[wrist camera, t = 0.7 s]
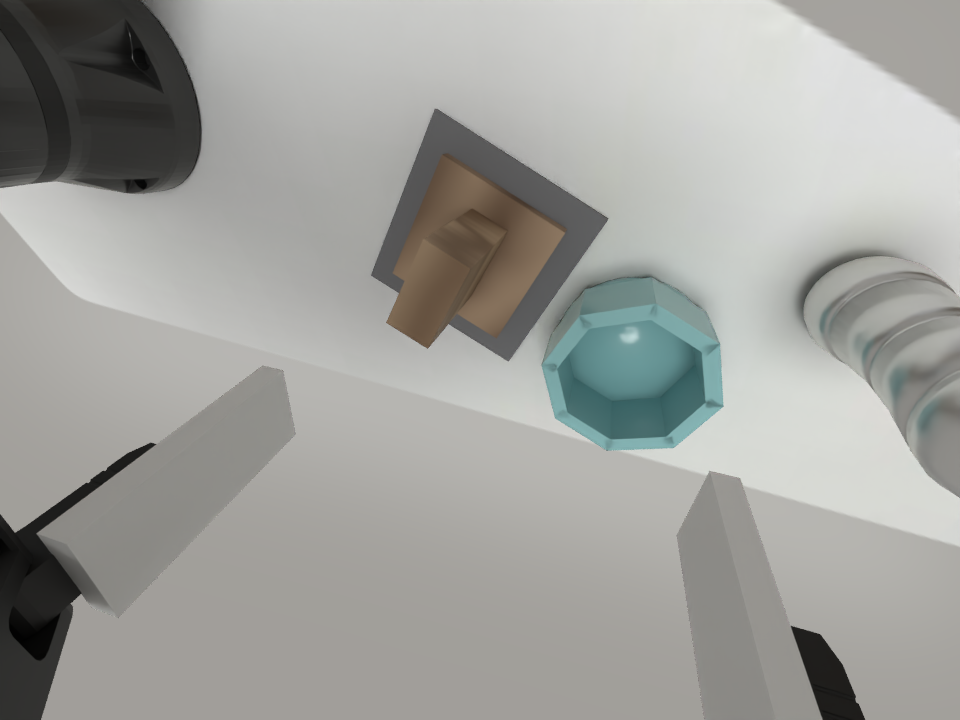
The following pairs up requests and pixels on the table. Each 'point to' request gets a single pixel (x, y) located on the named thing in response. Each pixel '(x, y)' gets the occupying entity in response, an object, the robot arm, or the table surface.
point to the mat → (519, 182)
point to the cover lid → (468, 254)
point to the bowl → (634, 365)
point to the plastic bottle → (898, 349)
